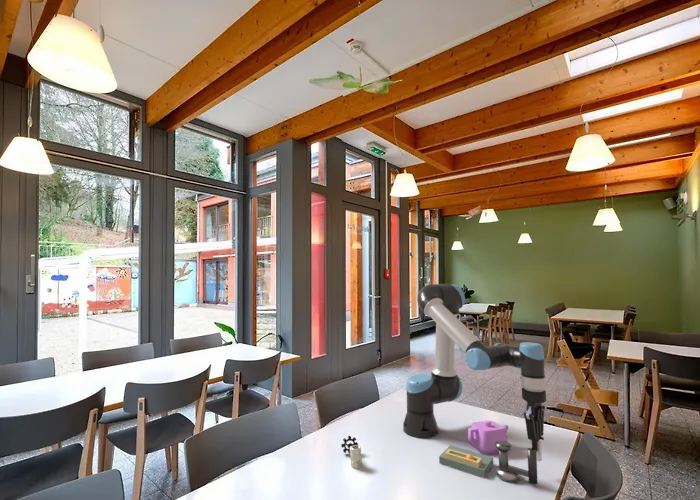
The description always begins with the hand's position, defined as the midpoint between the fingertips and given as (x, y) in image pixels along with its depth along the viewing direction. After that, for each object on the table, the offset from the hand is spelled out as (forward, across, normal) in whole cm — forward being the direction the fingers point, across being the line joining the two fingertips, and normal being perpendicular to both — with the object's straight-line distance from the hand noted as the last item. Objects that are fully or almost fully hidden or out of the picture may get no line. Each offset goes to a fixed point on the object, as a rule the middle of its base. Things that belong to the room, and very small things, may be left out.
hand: (536, 459), depth 122 cm
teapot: (+6, -8, -21) cm, 23 cm away
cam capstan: (+5, +8, -4) cm, 10 cm away
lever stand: (+5, +11, -21) cm, 24 cm away
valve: (+6, +39, -51) cm, 64 cm away
